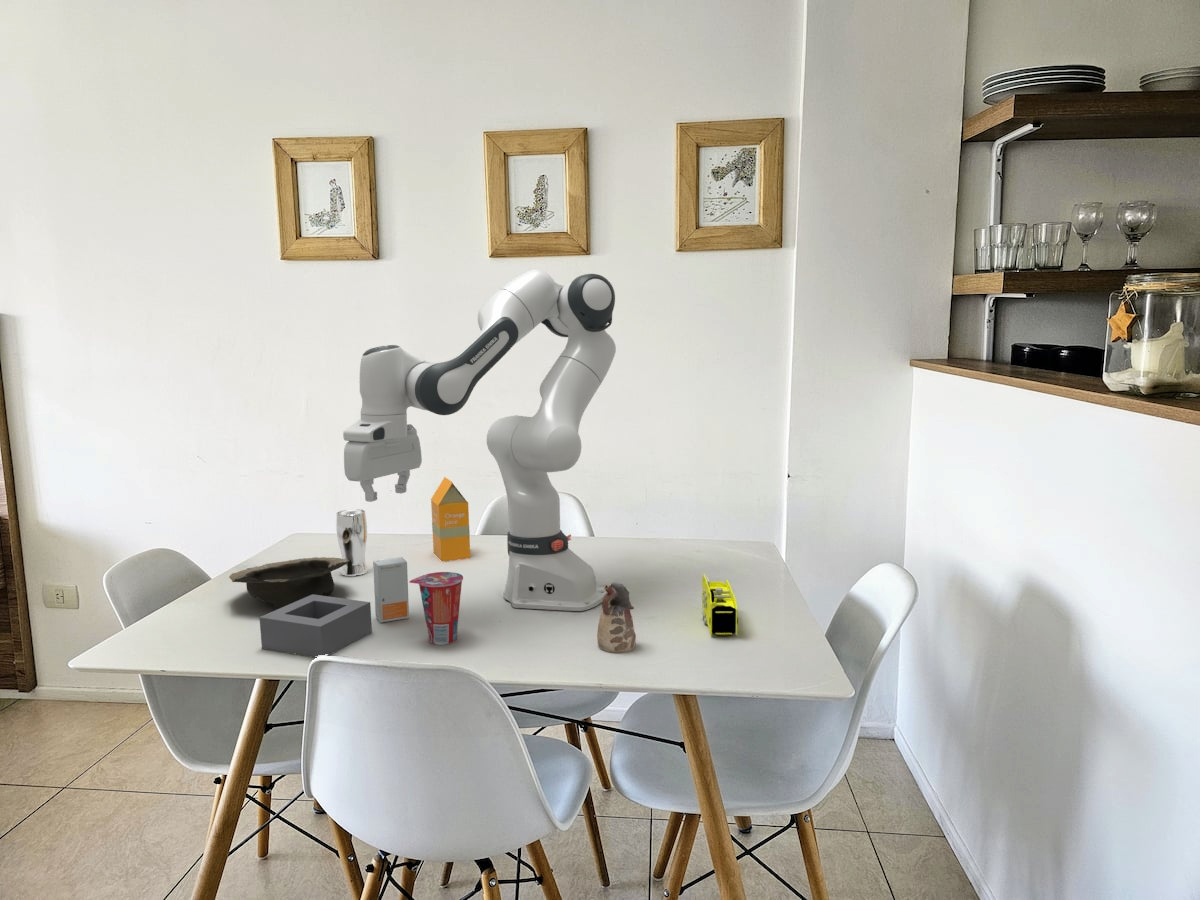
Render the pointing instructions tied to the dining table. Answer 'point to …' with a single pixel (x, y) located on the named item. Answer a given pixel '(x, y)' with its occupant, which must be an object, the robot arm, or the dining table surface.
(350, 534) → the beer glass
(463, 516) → the orange juice
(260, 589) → the stone bowl
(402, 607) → the skincare box
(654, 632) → the dining table surface
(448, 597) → the cup
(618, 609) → the figurine
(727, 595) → the yellow toy chassis
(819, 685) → the dining table surface
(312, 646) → the mount block
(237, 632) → the dining table surface
